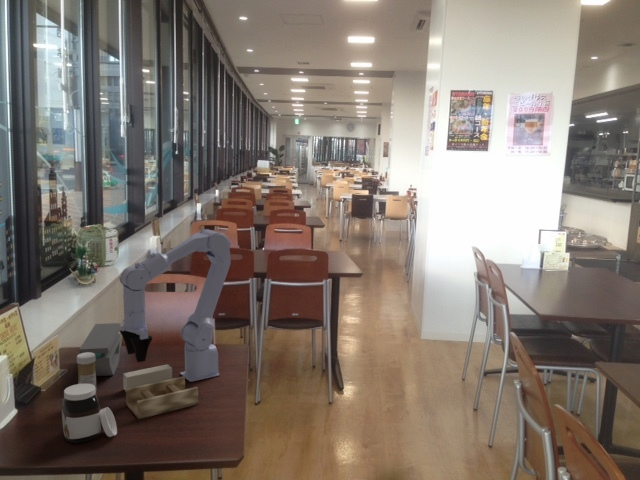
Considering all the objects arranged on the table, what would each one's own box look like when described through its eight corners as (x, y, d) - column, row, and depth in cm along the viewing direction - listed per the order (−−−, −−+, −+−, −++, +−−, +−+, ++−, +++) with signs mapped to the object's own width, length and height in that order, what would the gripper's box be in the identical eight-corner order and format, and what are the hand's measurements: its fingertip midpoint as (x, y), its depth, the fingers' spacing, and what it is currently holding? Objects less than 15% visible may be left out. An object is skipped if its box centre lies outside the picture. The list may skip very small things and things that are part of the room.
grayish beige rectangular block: (168, 380, 173) (167, 364, 172) (172, 384, 170) (172, 367, 169) (123, 390, 166) (123, 373, 165) (127, 394, 163) (126, 377, 162)
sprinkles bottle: (82, 399, 159) (79, 351, 157) (99, 399, 159) (97, 351, 157) (76, 406, 154) (74, 357, 152) (94, 406, 155) (92, 357, 153)
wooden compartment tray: (183, 391, 165) (183, 376, 164) (198, 404, 157) (198, 388, 156) (126, 405, 155) (125, 388, 155) (138, 419, 147) (138, 402, 147)
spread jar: (59, 432, 140) (56, 386, 139) (107, 419, 147) (105, 375, 145) (73, 452, 131) (70, 403, 129) (123, 438, 138) (121, 391, 136)
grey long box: (109, 384, 169) (108, 347, 168) (81, 385, 168) (79, 349, 166) (121, 354, 194) (120, 323, 192) (96, 356, 192) (95, 324, 191)
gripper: (112, 306, 166) (114, 352, 168) (128, 318, 154) (130, 367, 156) (136, 303, 170) (138, 348, 172) (154, 314, 158) (156, 362, 160)
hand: (136, 357), depth 164 cm, fingers open, 7 cm apart
